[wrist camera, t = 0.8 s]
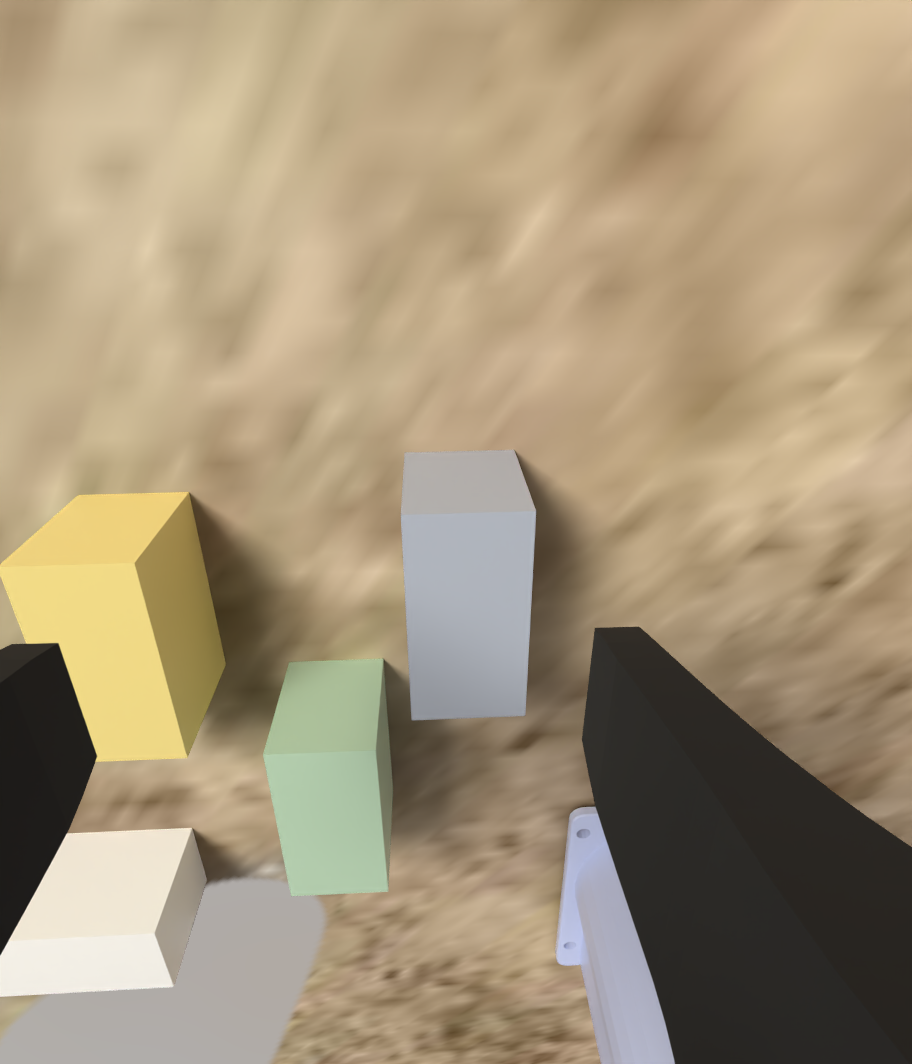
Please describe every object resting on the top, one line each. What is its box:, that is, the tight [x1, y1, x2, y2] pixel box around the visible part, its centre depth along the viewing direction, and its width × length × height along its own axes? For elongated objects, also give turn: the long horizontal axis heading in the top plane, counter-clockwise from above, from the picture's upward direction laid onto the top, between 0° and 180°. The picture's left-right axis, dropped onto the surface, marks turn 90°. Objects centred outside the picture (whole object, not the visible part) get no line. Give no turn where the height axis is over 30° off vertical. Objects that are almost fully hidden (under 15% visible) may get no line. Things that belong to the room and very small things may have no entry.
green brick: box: [263, 659, 393, 896], centre depth 21 cm, size 6×3×4 cm, turn 0°
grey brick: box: [401, 450, 536, 720], centre depth 18 cm, size 6×3×4 cm, turn 0°
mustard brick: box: [0, 492, 226, 762], centre depth 18 cm, size 6×3×4 cm, turn 0°
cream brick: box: [0, 828, 207, 997], centre depth 23 cm, size 6×3×4 cm, turn 90°
